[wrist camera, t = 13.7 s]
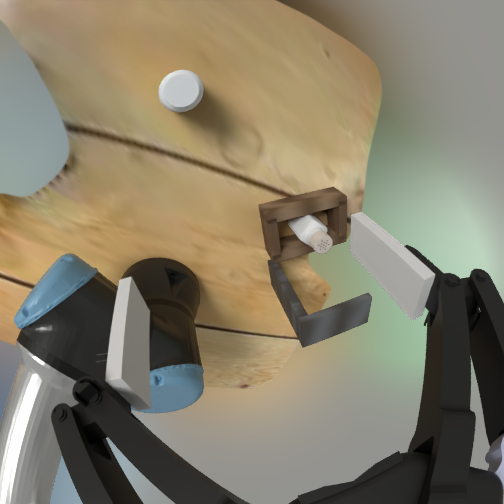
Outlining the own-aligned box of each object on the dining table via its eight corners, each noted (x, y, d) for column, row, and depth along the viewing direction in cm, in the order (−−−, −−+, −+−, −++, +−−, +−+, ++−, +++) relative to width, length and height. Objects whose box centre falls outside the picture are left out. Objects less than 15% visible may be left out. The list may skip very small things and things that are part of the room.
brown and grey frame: (271, 284, 56) (302, 347, 42) (258, 204, 46) (297, 260, 32) (334, 264, 57) (376, 317, 44) (333, 186, 48) (391, 230, 34)
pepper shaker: (301, 231, 51) (324, 260, 43) (284, 222, 49) (306, 250, 41) (313, 214, 50) (339, 239, 42) (297, 203, 48) (322, 229, 40)
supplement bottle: (206, 83, 34) (215, 79, 26) (188, 115, 36) (191, 121, 28) (172, 68, 31) (171, 60, 23) (154, 101, 33) (147, 103, 25)
